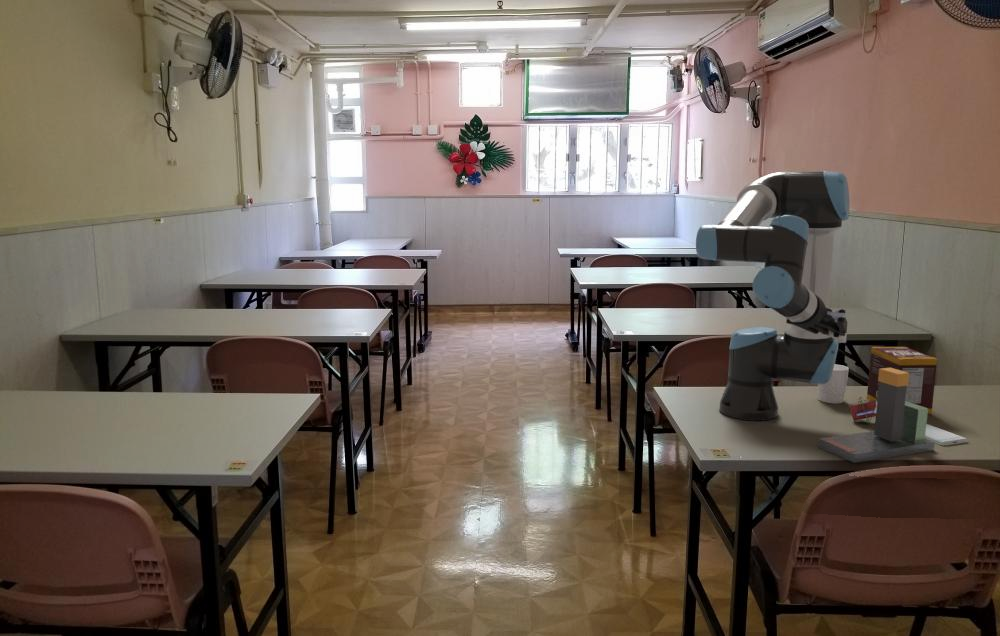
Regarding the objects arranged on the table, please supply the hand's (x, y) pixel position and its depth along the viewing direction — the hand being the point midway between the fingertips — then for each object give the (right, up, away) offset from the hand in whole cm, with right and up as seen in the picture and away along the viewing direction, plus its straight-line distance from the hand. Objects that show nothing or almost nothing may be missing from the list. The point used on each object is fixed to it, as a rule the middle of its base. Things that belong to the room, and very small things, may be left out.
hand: (843, 337), depth 173 cm
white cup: (+16, -20, +42) cm, 49 cm away
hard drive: (+28, -26, +12) cm, 40 cm away
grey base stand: (+9, -26, +3) cm, 28 cm away
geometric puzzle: (+16, -23, +23) cm, 36 cm away
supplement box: (+32, -21, +37) cm, 53 cm away
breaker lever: (+12, -24, +4) cm, 27 cm away
